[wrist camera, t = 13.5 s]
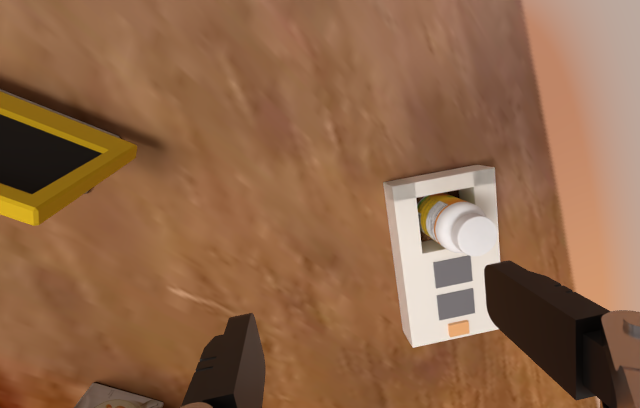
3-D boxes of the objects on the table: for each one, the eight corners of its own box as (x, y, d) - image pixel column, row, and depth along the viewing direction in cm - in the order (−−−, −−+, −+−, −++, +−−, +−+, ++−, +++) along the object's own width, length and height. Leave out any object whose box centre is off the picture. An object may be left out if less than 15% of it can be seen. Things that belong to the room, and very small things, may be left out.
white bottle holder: (383, 182, 39) (393, 187, 35) (477, 164, 40) (496, 167, 36) (403, 330, 44) (413, 349, 40) (487, 313, 44) (506, 329, 40)
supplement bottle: (464, 206, 41) (516, 228, 31) (438, 242, 41) (481, 273, 32) (430, 182, 40) (474, 197, 30) (404, 219, 40) (439, 245, 31)
